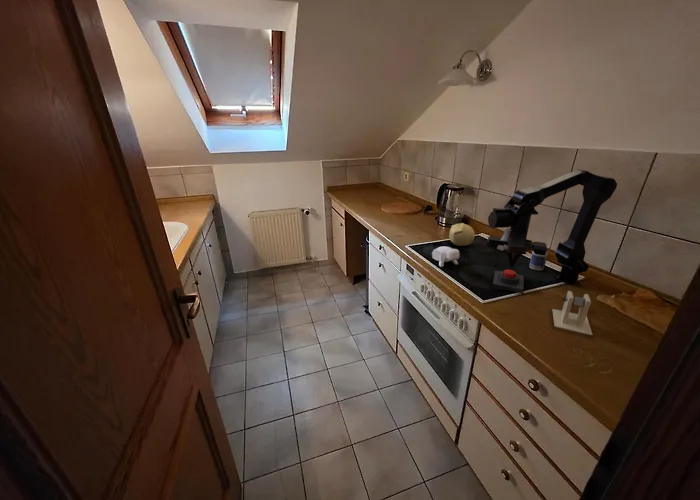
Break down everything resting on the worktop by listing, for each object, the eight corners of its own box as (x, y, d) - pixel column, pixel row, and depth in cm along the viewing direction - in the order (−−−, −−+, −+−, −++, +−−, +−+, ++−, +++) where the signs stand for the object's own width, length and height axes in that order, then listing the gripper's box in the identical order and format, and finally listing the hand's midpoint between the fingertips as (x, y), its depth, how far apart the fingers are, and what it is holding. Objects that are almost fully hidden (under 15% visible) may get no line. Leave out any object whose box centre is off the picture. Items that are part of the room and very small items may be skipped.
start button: (503, 272, 114) (504, 268, 114) (515, 274, 113) (516, 270, 112) (502, 277, 111) (503, 273, 110) (515, 279, 109) (515, 275, 109)
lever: (561, 303, 99) (563, 294, 99) (573, 306, 97) (575, 296, 97) (571, 305, 87) (572, 294, 87) (584, 308, 86) (586, 297, 86)
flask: (493, 249, 144) (497, 229, 140) (499, 244, 149) (502, 225, 145) (509, 253, 140) (513, 233, 136) (514, 248, 144) (518, 228, 141)
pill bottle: (544, 272, 121) (549, 250, 118) (528, 269, 124) (533, 247, 120) (543, 266, 126) (548, 245, 122) (529, 264, 128) (533, 243, 124)
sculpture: (447, 239, 158) (449, 219, 154) (471, 240, 156) (473, 220, 151) (449, 247, 148) (451, 226, 143) (474, 248, 145) (478, 227, 141)
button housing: (494, 275, 120) (496, 266, 119) (522, 280, 116) (524, 271, 114) (491, 288, 111) (493, 279, 109) (522, 294, 106) (524, 285, 105)
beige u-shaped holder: (551, 311, 97) (559, 284, 93) (585, 318, 93) (595, 291, 89) (554, 328, 89) (562, 300, 85) (591, 337, 85) (602, 308, 81)
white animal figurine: (430, 266, 136) (448, 268, 121) (428, 247, 136) (446, 247, 121) (447, 263, 138) (466, 265, 123) (445, 245, 138) (464, 245, 123)
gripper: (488, 229, 102) (481, 270, 108) (552, 237, 93) (541, 281, 100) (491, 220, 111) (485, 258, 117) (550, 227, 102) (540, 267, 109)
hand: (511, 266), depth 110 cm, fingers closed
